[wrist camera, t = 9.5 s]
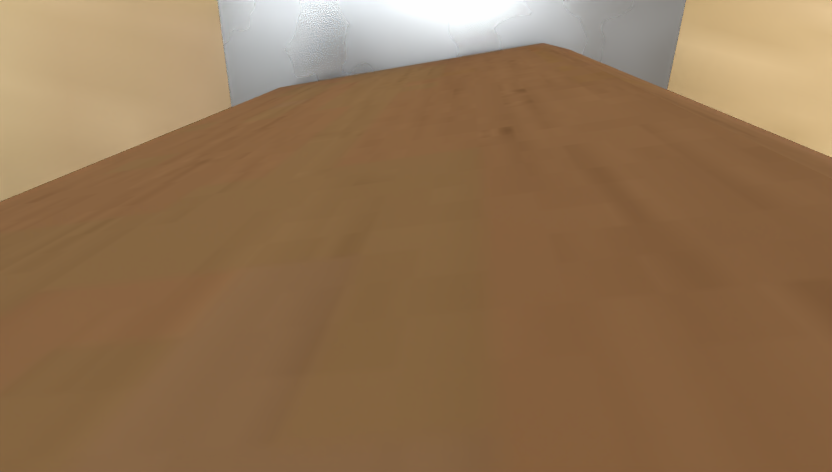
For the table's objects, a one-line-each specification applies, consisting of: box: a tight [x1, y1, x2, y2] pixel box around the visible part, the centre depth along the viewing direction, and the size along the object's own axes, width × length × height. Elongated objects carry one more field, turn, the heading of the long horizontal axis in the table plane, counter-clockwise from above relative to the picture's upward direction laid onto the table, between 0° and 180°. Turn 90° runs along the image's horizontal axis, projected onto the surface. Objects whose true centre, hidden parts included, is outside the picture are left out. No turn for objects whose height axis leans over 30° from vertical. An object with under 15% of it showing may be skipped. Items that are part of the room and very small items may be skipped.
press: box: [217, 0, 686, 107], centre depth 16 cm, size 14×22×12 cm, turn 179°
